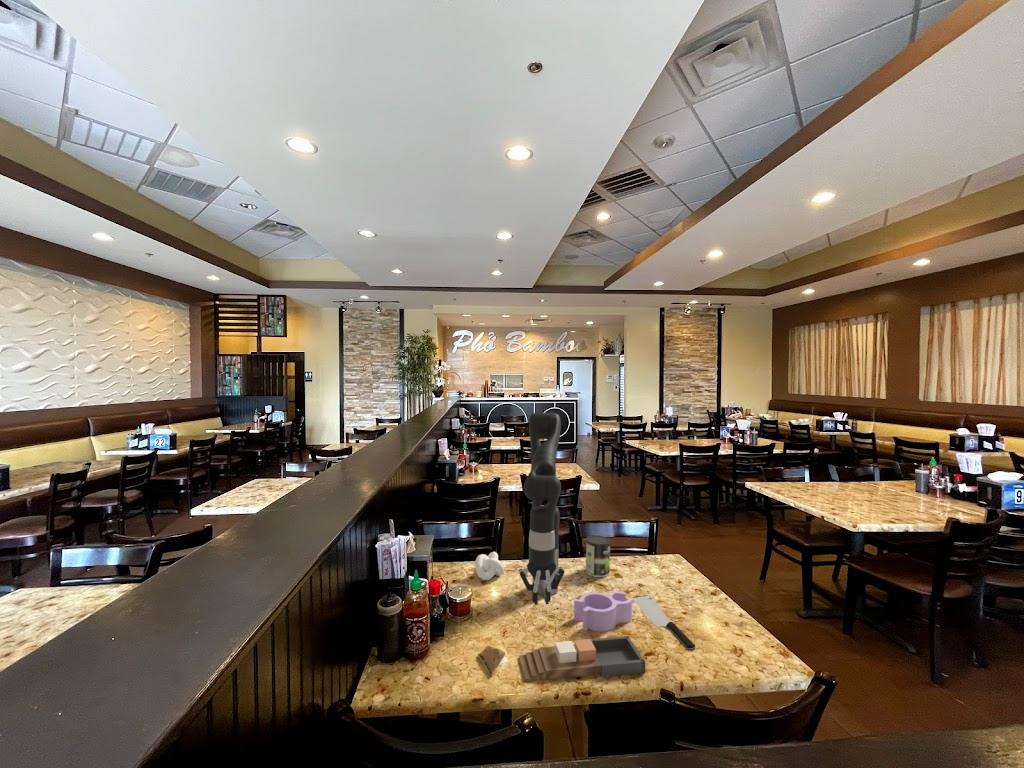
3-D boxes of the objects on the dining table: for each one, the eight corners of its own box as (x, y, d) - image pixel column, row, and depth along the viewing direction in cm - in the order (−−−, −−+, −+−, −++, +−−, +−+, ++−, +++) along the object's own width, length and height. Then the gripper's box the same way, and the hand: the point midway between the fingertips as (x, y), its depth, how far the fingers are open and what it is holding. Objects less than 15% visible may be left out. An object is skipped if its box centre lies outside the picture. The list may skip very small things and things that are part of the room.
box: (601, 676, 121) (601, 665, 121) (588, 649, 133) (588, 639, 133) (645, 672, 123) (645, 661, 123) (627, 646, 135) (628, 636, 135)
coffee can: (613, 570, 187) (613, 538, 186) (604, 579, 178) (605, 546, 178) (591, 564, 192) (591, 533, 192) (581, 573, 184) (582, 540, 183)
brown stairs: (524, 681, 119) (524, 674, 119) (519, 657, 129) (519, 650, 129) (545, 679, 120) (546, 672, 120) (538, 655, 130) (538, 649, 130)
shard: (491, 680, 120) (491, 673, 120) (467, 672, 123) (467, 666, 123) (506, 656, 130) (506, 650, 130) (483, 650, 133) (484, 644, 133)
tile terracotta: (579, 661, 124) (579, 651, 124) (574, 650, 129) (574, 640, 129) (595, 659, 125) (596, 649, 125) (590, 648, 130) (590, 639, 129)
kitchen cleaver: (627, 597, 163) (651, 592, 165) (627, 602, 163) (652, 597, 165) (670, 650, 132) (700, 643, 134) (671, 655, 132) (700, 649, 134)
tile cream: (559, 663, 123) (559, 653, 123) (555, 652, 128) (555, 642, 128) (576, 661, 124) (576, 651, 124) (571, 650, 129) (571, 640, 129)
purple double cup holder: (618, 605, 159) (619, 587, 159) (639, 624, 147) (639, 604, 147) (570, 615, 152) (570, 596, 152) (587, 635, 140) (587, 615, 140)
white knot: (474, 569, 186) (474, 549, 186) (502, 568, 187) (502, 548, 187) (475, 582, 175) (475, 560, 175) (504, 581, 176) (504, 559, 176)
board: (545, 679, 120) (546, 670, 120) (538, 656, 130) (538, 647, 130) (600, 674, 122) (600, 665, 122) (589, 651, 132) (589, 643, 132)
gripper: (520, 550, 119) (519, 612, 120) (568, 548, 121) (568, 608, 122) (516, 540, 127) (515, 598, 127) (562, 538, 129) (561, 594, 129)
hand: (541, 602), depth 124 cm, fingers closed
